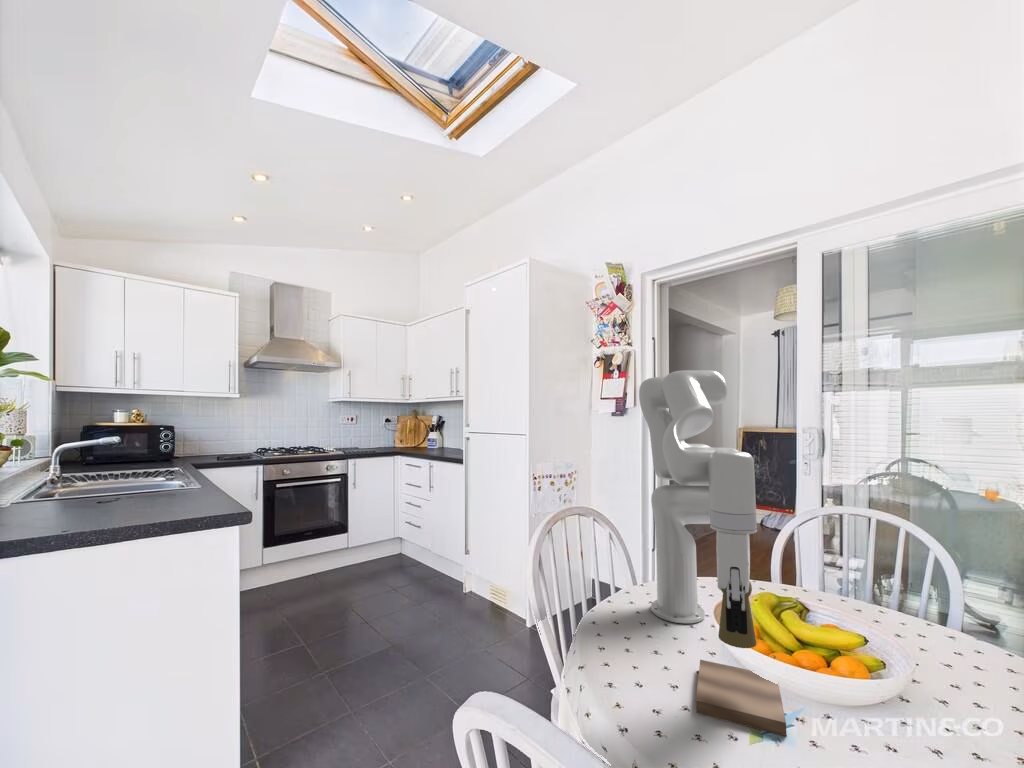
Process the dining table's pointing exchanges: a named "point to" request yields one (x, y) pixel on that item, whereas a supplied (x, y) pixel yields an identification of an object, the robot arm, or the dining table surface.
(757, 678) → the walnut board
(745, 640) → the olive pawn
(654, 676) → the dining table surface
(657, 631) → the dining table surface
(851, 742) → the dining table surface
